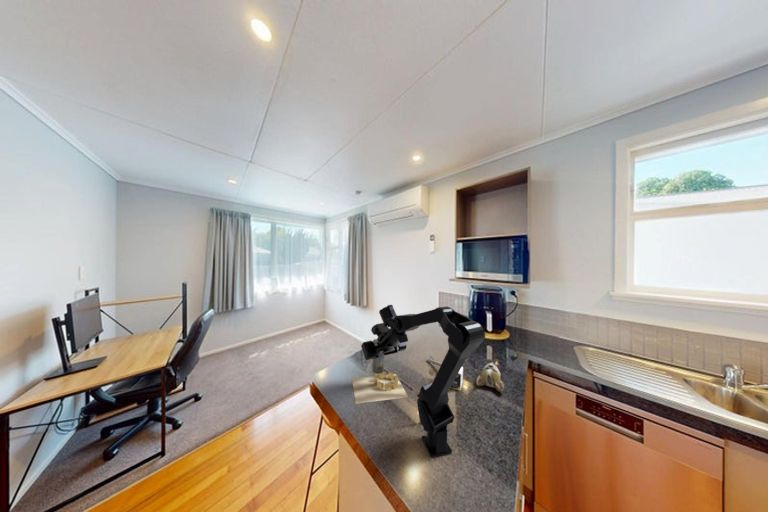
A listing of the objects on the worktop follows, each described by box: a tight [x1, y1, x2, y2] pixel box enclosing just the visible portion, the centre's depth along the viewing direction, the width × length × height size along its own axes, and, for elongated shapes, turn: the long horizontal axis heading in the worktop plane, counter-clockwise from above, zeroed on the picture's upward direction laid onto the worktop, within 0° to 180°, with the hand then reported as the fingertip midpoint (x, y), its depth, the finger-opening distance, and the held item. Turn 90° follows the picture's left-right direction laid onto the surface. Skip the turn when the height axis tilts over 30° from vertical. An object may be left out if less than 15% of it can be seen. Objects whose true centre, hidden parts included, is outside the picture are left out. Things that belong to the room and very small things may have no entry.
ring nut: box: [373, 371, 399, 391], centre depth 88 cm, size 10×10×2 cm
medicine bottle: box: [450, 366, 464, 391], centre depth 91 cm, size 7×7×12 cm
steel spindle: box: [371, 338, 385, 374], centre depth 87 cm, size 5×5×12 cm
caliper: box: [426, 358, 442, 367], centre depth 104 cm, size 21×1×6 cm, turn 20°
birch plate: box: [351, 373, 409, 405], centre depth 86 cm, size 17×20×1 cm
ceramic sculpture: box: [475, 361, 505, 394], centre depth 92 cm, size 11×9×15 cm
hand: (376, 355), depth 88 cm, fingers closed on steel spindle, 5 cm apart
